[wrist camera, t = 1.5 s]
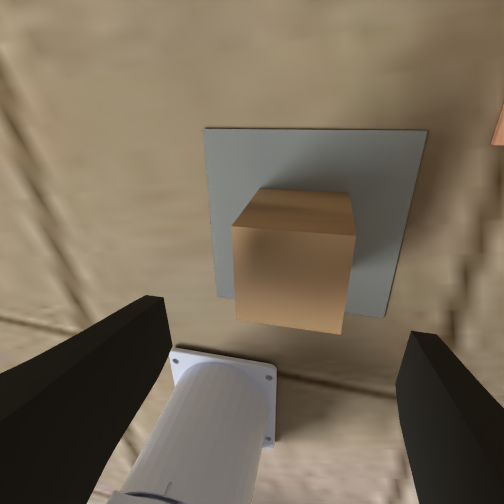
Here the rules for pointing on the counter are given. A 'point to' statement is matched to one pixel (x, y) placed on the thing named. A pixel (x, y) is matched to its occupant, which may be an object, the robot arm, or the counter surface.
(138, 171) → the counter surface
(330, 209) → the walnut block
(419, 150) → the tile
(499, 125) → the pad
